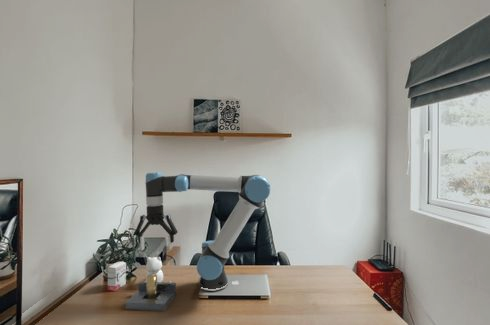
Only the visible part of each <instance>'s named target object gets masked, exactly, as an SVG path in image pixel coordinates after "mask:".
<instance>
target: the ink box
mask: <svg viewBox="0 0 490 325" xmlns="http://www.w3.org/2000/svg"><path fill="white" fill-rule="evenodd" d="M126 282H127V262H124V261H117V262H115V263H113V264H111V265H108V267H107V291H111V292H112V291H114V292H116V291H117V290H120V289H121V287H123V286H125V285H126V284H127V283H126Z"/></svg>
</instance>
